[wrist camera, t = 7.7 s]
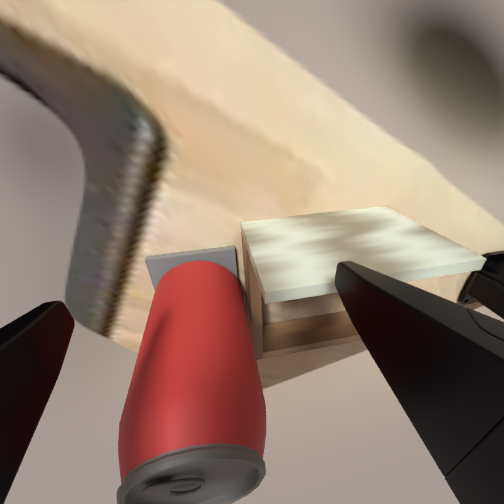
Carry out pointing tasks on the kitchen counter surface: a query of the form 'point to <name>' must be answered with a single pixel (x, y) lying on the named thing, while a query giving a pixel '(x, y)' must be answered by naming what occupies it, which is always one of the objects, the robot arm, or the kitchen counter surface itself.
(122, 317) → the kitchen counter surface
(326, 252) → the drawer
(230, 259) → the plate
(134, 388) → the beer can
